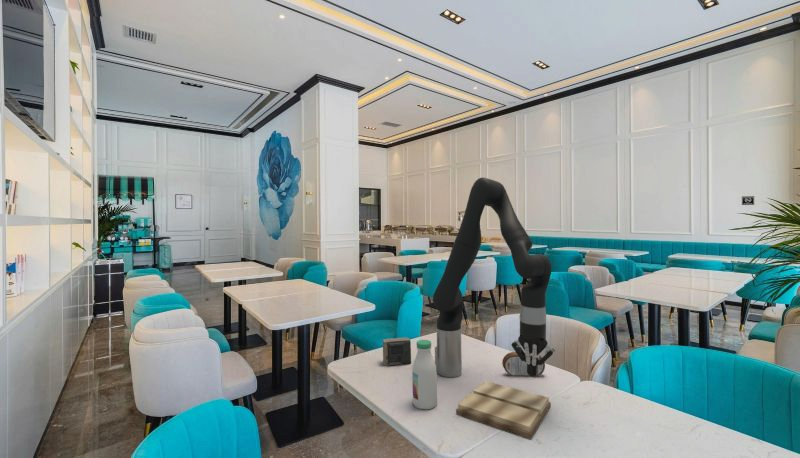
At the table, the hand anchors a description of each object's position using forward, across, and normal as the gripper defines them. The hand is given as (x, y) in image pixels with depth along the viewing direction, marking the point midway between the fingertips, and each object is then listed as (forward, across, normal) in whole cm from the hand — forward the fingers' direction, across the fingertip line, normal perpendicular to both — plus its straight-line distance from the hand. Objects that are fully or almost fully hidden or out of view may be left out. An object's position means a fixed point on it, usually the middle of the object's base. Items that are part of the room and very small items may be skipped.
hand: (532, 375), depth 111 cm
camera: (+11, +55, -4) cm, 57 cm away
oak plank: (+9, +6, +1) cm, 11 cm away
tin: (+10, +10, -21) cm, 26 cm away
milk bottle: (+11, +28, +17) cm, 35 cm away
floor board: (+10, +6, +6) cm, 14 cm away
